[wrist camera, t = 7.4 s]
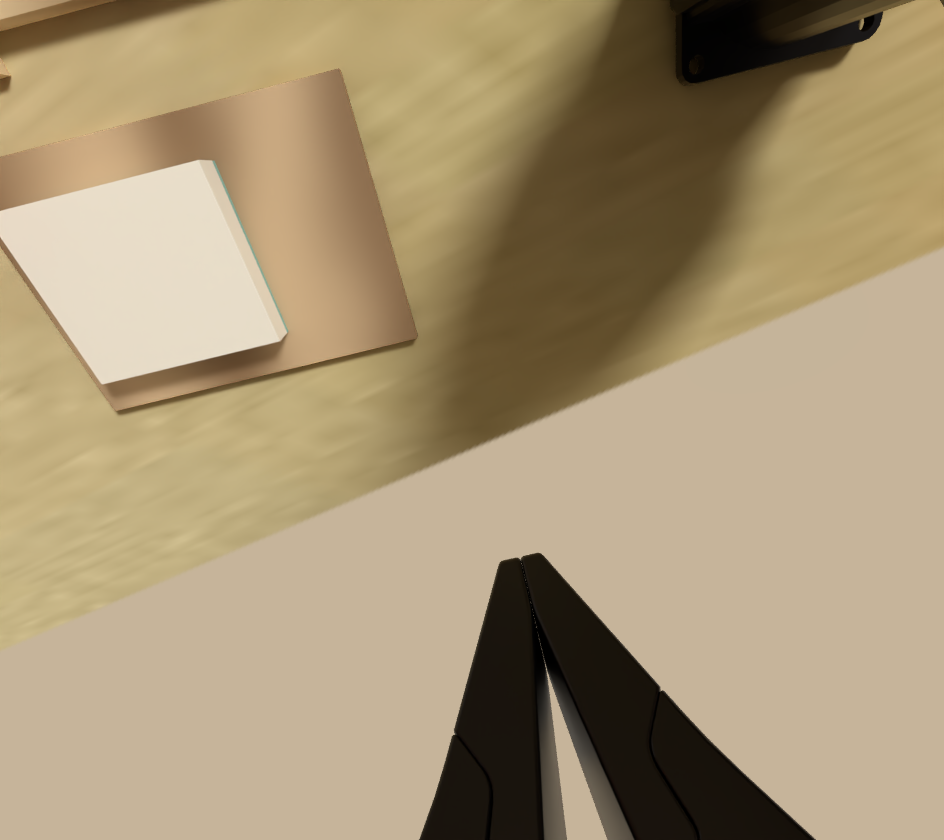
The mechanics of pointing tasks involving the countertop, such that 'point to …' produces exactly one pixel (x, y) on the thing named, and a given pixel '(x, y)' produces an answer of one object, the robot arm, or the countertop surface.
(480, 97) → the countertop surface
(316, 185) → the brown wooden board
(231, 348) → the tile
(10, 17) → the wooden turner
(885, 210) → the countertop surface
